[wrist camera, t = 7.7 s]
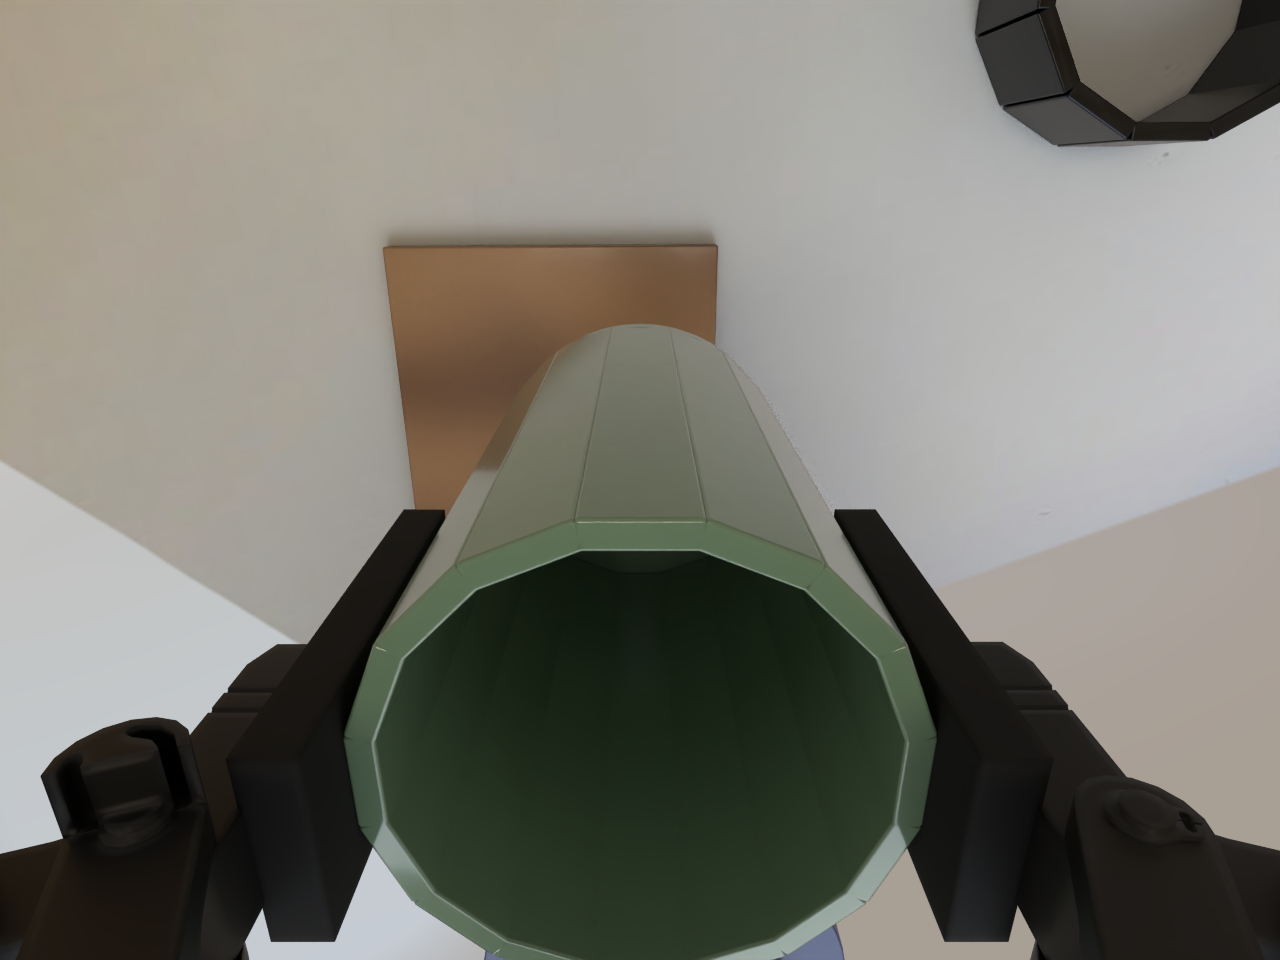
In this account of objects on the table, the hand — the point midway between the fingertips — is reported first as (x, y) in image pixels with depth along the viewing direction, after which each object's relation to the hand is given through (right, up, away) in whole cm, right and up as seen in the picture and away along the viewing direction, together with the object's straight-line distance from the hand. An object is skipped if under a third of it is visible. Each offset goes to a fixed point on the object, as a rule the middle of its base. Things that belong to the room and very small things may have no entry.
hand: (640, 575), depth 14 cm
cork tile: (-4, +5, +20) cm, 21 cm away
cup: (0, +2, +6) cm, 7 cm away
